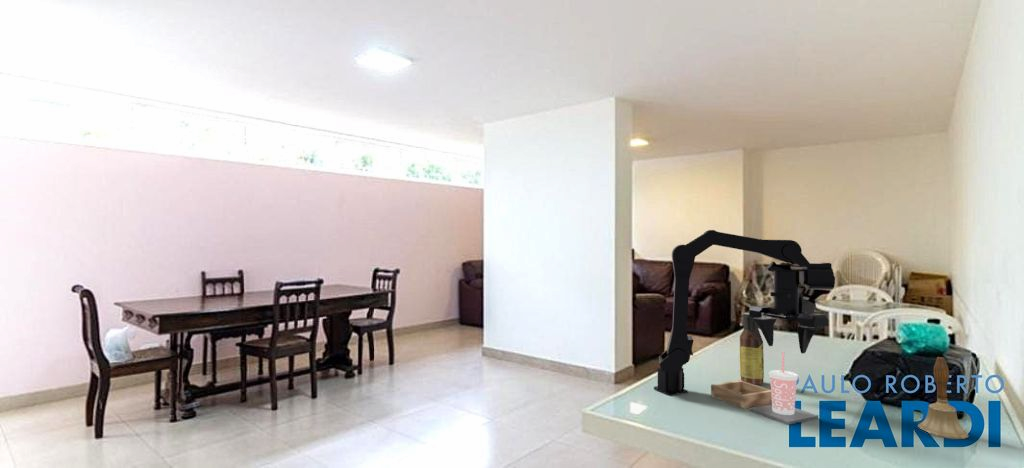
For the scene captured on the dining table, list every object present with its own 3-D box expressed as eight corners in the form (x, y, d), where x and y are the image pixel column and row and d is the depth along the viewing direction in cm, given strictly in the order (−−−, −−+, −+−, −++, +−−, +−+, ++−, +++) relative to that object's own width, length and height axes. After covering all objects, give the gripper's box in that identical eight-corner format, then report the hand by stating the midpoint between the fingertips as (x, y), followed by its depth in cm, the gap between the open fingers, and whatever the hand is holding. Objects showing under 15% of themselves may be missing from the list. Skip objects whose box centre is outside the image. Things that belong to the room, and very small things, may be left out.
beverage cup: (762, 409, 120) (762, 350, 121) (780, 405, 123) (780, 348, 123) (786, 417, 115) (786, 356, 115) (804, 413, 118) (804, 353, 118)
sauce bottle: (768, 386, 142) (768, 315, 142) (745, 385, 142) (745, 315, 142) (757, 379, 148) (757, 311, 149) (735, 379, 148) (735, 311, 149)
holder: (744, 408, 123) (744, 396, 123) (711, 396, 133) (711, 384, 133) (774, 402, 127) (774, 390, 127) (740, 391, 137) (740, 380, 137)
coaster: (788, 424, 112) (788, 421, 112) (750, 410, 121) (750, 408, 121) (818, 418, 116) (818, 415, 116) (779, 405, 126) (779, 402, 126)
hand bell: (957, 442, 103) (956, 363, 103) (910, 428, 110) (909, 355, 111) (976, 435, 107) (975, 359, 107) (929, 422, 114) (928, 351, 114)
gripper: (843, 291, 124) (843, 354, 124) (776, 284, 141) (776, 340, 141) (812, 292, 120) (812, 358, 120) (747, 285, 137) (747, 343, 137)
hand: (786, 349), depth 129 cm, fingers open, 9 cm apart
